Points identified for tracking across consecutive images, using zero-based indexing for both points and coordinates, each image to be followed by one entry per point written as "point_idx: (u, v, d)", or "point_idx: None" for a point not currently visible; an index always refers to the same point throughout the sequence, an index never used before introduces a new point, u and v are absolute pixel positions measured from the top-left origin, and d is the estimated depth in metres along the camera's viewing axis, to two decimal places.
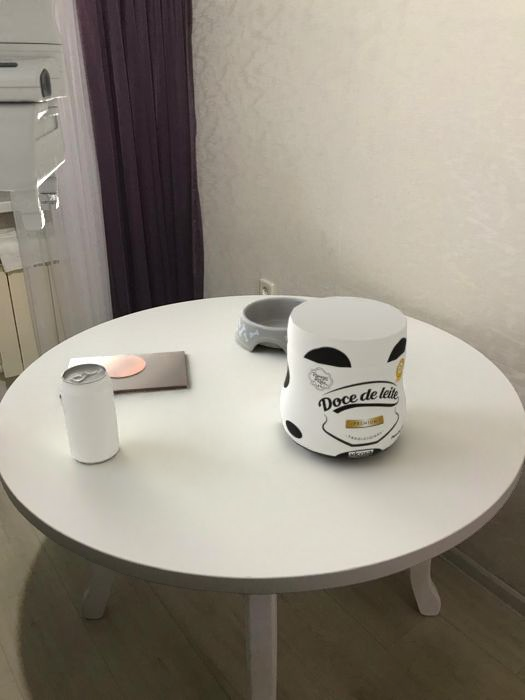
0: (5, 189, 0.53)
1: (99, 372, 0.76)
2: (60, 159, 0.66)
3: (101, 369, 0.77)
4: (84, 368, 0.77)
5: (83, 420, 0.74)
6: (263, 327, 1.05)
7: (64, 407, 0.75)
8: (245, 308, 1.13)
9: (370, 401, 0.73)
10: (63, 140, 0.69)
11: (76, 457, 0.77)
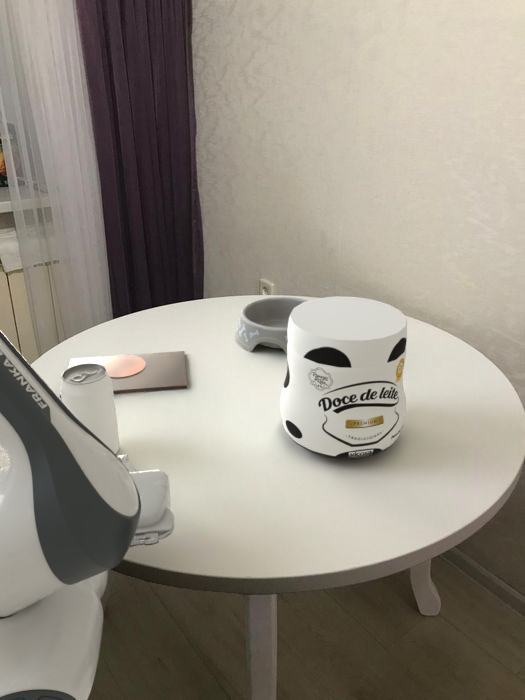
0: None
1: (99, 372, 0.76)
2: None
3: (101, 369, 0.77)
4: (84, 368, 0.77)
5: (83, 420, 0.74)
6: (263, 327, 1.05)
7: None
8: (245, 308, 1.13)
9: (370, 401, 0.73)
10: None
11: None
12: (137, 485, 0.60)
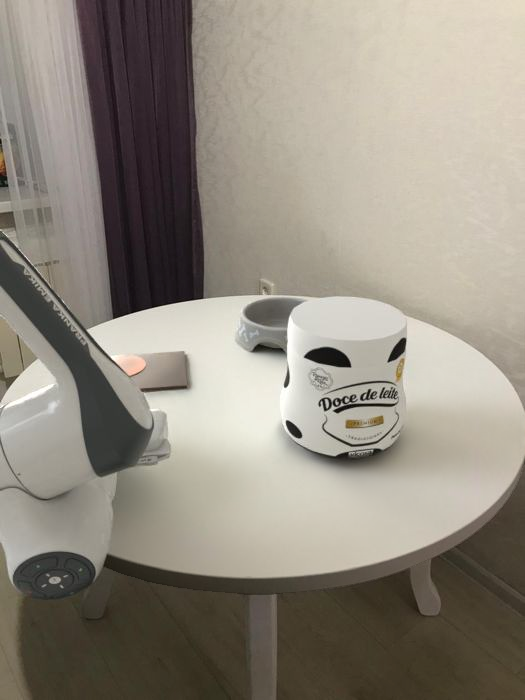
0: None
1: None
2: None
3: None
4: None
5: None
6: (263, 327, 1.05)
7: None
8: (245, 308, 1.13)
9: (370, 401, 0.73)
10: None
11: None
12: None
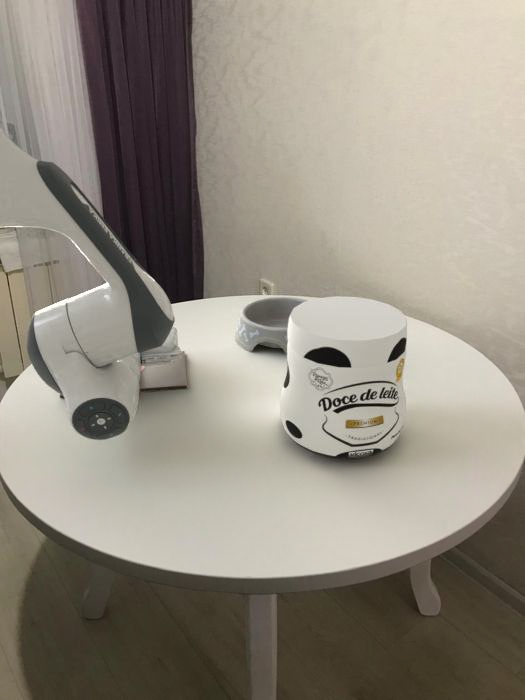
0: None
1: None
2: None
3: None
4: None
5: None
6: (263, 327, 1.05)
7: None
8: (245, 308, 1.13)
9: (370, 401, 0.73)
10: None
11: None
12: None
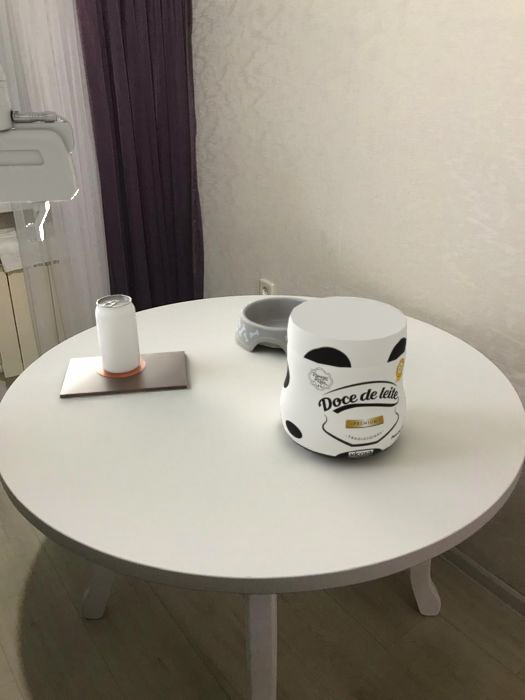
0: None
1: (125, 300, 0.97)
2: (28, 195, 0.64)
3: (126, 299, 0.98)
4: (113, 298, 0.98)
5: (114, 336, 0.95)
6: (263, 327, 1.05)
7: (98, 327, 0.96)
8: (245, 308, 1.13)
9: (370, 401, 0.73)
10: (63, 179, 0.64)
11: (107, 368, 0.99)
12: None
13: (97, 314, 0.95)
